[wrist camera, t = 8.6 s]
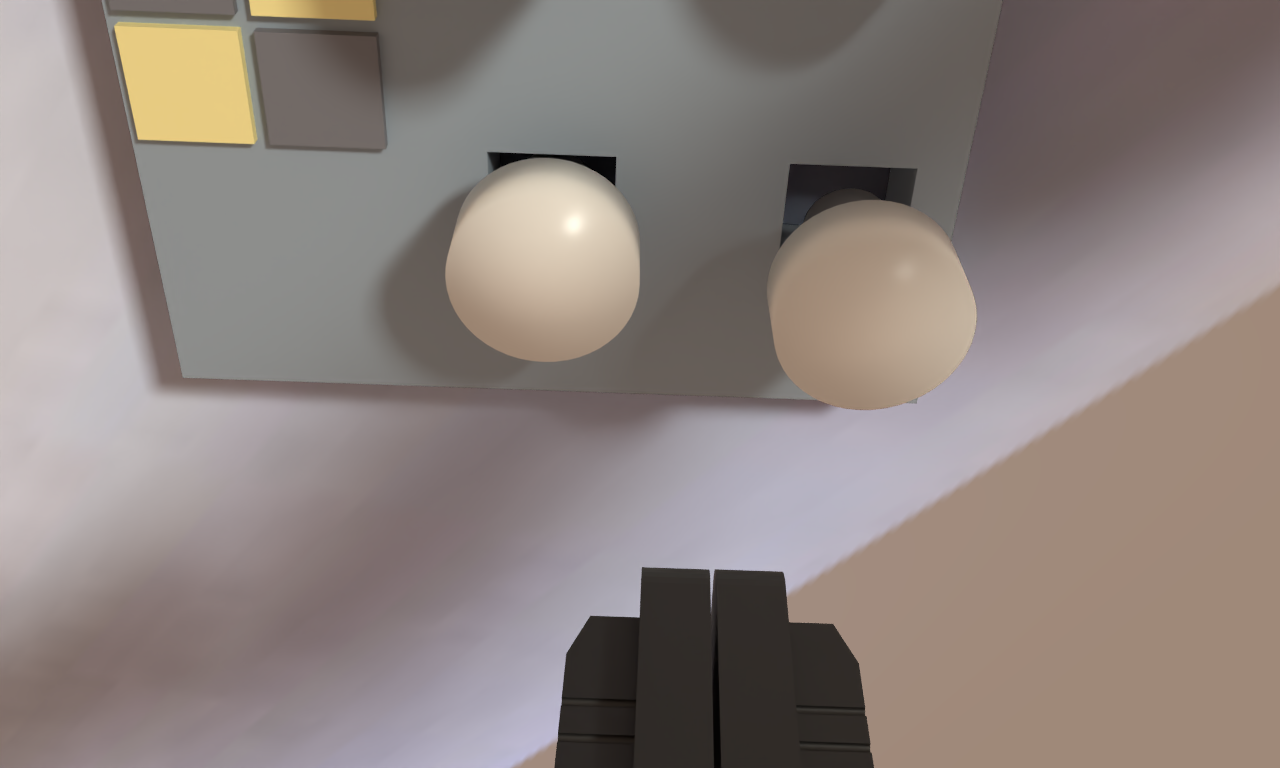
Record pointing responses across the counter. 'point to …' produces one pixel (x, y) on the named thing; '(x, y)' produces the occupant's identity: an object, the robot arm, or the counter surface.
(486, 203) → the button
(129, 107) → the board
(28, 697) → the counter surface
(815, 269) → the button
